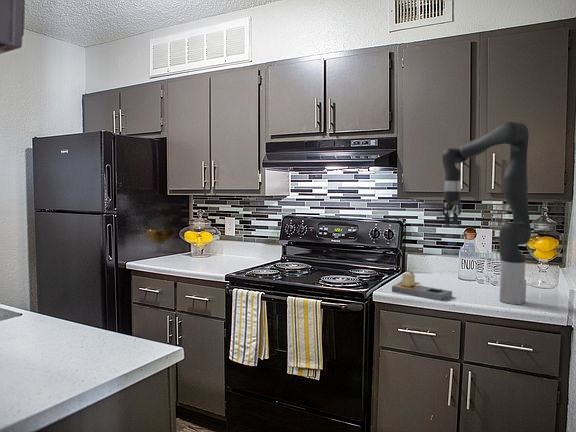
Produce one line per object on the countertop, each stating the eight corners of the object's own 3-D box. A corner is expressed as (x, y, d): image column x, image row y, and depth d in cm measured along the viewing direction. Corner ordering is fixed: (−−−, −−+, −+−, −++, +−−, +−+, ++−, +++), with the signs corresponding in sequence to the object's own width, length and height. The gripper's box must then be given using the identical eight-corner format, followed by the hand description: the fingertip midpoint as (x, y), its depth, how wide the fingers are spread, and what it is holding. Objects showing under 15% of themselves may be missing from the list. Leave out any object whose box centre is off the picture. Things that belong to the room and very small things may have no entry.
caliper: (411, 282, 235) (412, 270, 235) (413, 282, 235) (414, 270, 234) (391, 289, 220) (392, 275, 220) (393, 289, 219) (394, 276, 219)
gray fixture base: (451, 296, 204) (452, 290, 204) (441, 300, 197) (441, 294, 197) (403, 288, 221) (403, 282, 221) (391, 291, 214) (392, 285, 214)
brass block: (414, 291, 214) (414, 274, 213) (409, 293, 211) (410, 275, 210) (406, 290, 216) (407, 273, 216) (402, 291, 214) (402, 274, 213)
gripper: (453, 190, 215) (452, 225, 216) (466, 190, 225) (465, 224, 226) (438, 190, 220) (437, 224, 221) (451, 190, 231) (450, 223, 232)
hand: (451, 224), depth 224 cm, fingers open, 8 cm apart
